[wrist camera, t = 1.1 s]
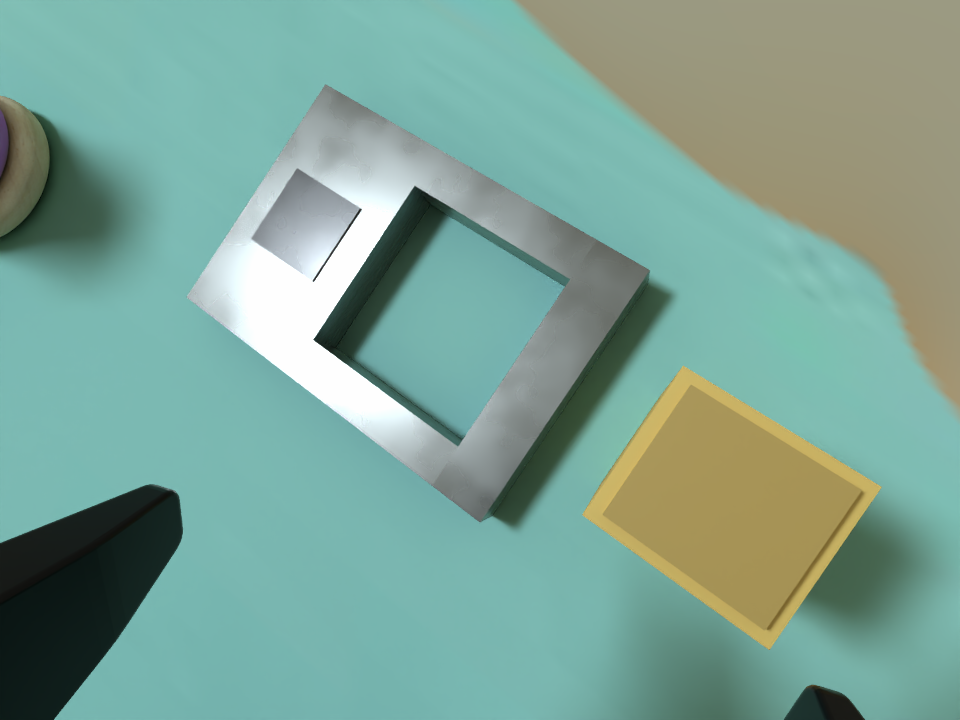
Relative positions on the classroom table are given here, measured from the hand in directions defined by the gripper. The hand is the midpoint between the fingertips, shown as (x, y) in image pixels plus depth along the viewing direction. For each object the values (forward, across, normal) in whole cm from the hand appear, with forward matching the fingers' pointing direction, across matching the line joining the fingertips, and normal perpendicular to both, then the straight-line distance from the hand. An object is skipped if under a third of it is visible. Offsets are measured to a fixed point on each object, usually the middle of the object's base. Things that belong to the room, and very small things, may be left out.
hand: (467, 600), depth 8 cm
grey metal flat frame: (+17, +6, +4) cm, 19 cm away
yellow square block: (+14, -6, +6) cm, 16 cm away
